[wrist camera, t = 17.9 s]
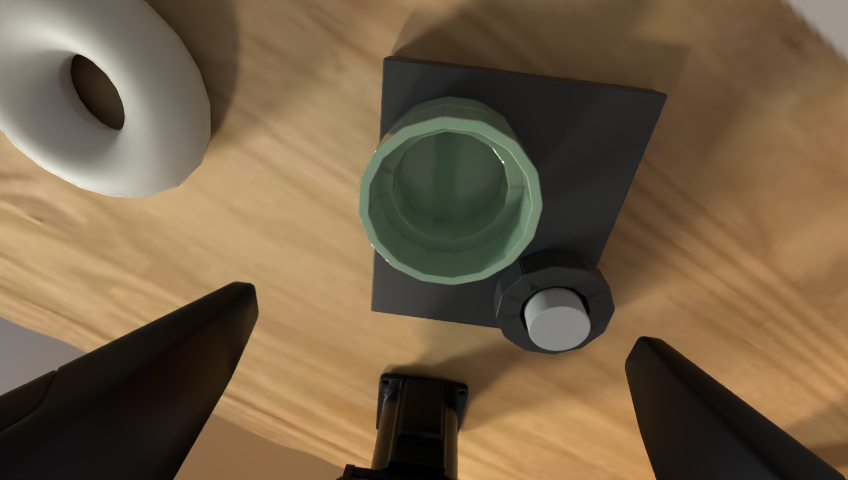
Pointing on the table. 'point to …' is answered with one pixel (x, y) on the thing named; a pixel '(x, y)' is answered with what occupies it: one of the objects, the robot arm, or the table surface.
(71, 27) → the donut
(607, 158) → the scale
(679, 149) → the table surface
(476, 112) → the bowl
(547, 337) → the button
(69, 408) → the robot arm
